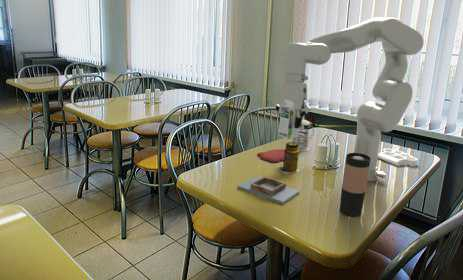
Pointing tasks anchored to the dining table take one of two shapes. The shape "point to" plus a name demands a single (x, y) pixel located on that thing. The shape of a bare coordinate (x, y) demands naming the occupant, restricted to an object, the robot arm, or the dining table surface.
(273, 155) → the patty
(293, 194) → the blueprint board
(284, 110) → the syrup box
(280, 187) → the socket frame
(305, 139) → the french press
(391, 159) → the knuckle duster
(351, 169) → the travel mug
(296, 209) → the dining table surface
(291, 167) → the condiment
